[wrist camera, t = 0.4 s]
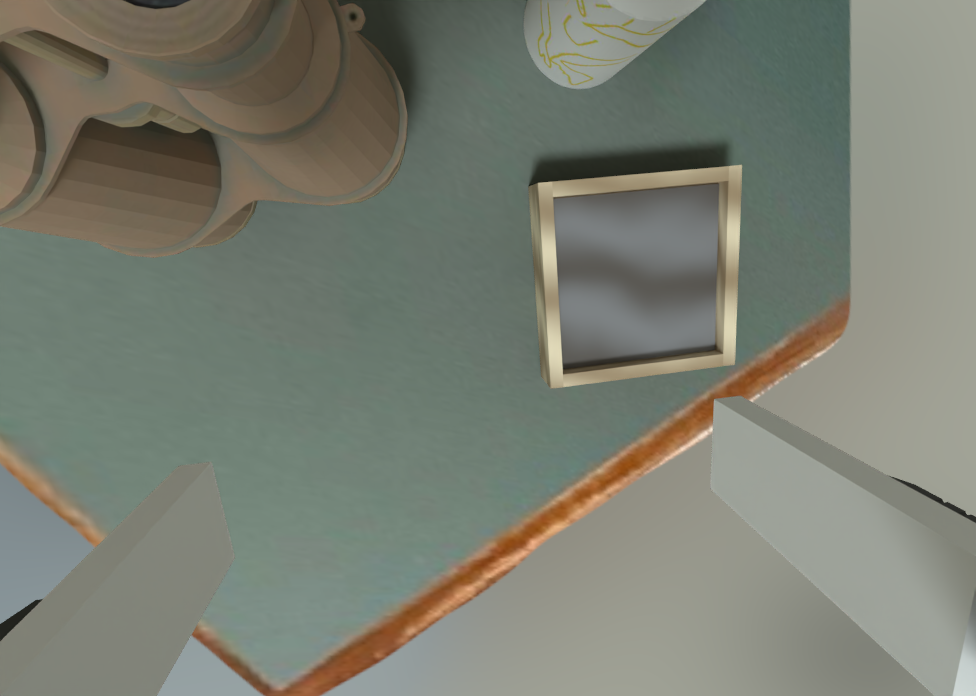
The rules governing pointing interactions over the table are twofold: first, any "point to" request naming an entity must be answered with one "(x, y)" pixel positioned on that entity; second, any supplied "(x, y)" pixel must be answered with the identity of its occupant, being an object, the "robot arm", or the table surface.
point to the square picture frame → (636, 273)
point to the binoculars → (187, 116)
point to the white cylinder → (596, 35)
